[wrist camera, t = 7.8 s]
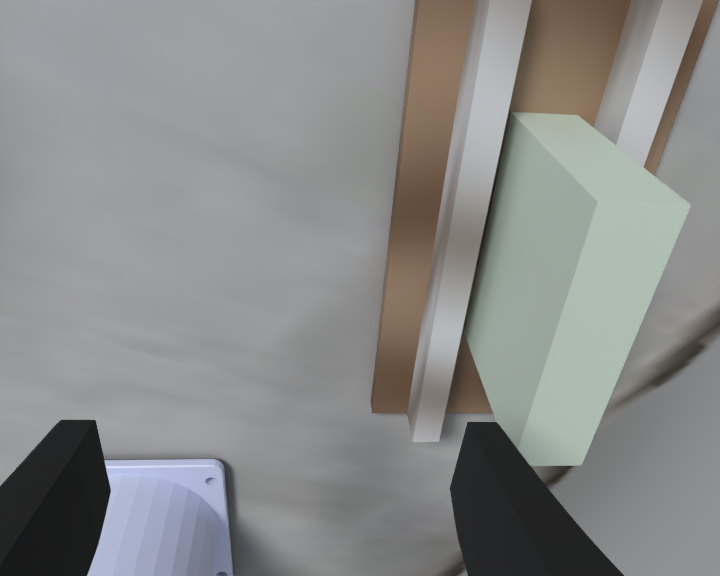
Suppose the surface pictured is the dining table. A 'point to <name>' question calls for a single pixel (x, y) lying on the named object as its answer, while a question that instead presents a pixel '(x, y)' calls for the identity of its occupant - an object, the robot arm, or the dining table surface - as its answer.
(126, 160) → the dining table surface
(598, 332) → the door panel
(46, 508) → the robot arm
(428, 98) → the door track
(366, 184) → the dining table surface
